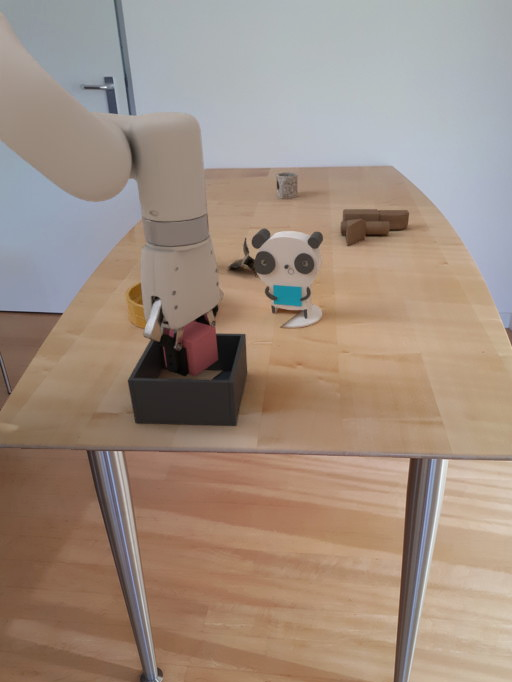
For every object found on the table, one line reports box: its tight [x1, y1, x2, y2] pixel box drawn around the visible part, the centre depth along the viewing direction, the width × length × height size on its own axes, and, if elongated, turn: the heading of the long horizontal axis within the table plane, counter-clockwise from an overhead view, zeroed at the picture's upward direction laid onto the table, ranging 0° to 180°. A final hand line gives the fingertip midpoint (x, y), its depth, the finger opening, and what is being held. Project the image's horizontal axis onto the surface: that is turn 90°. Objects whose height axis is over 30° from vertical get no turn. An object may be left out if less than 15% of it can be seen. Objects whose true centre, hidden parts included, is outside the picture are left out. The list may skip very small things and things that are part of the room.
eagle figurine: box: [227, 236, 258, 277], centre depth 117 cm, size 8×7×9 cm
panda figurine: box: [251, 228, 324, 329], centre depth 95 cm, size 12×11×15 cm
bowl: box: [124, 281, 194, 330], centre depth 98 cm, size 15×15×5 cm
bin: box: [127, 332, 248, 427], centre depth 74 cm, size 13×13×7 cm
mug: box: [276, 171, 299, 199], centre depth 174 cm, size 10×7×7 cm
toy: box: [163, 321, 218, 377], centre depth 72 cm, size 5×5×5 cm
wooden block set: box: [340, 208, 410, 247], centre depth 138 cm, size 17×6×18 cm
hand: (191, 362), depth 73 cm, fingers closed on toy, 5 cm apart
